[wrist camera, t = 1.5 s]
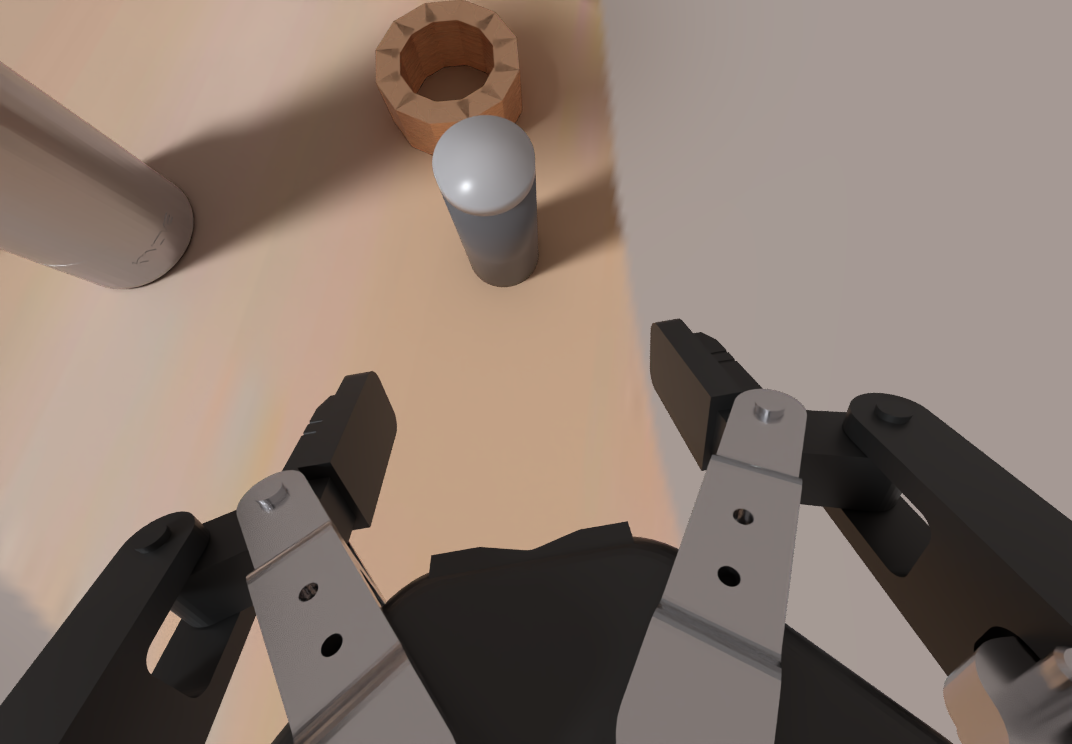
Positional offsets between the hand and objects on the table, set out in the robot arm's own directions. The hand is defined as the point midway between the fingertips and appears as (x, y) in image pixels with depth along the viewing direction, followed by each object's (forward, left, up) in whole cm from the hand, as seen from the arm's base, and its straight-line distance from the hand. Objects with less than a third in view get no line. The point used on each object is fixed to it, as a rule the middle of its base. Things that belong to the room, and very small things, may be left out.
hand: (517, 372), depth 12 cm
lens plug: (-7, +10, -16) cm, 20 cm away
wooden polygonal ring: (-16, +20, -16) cm, 30 cm away
